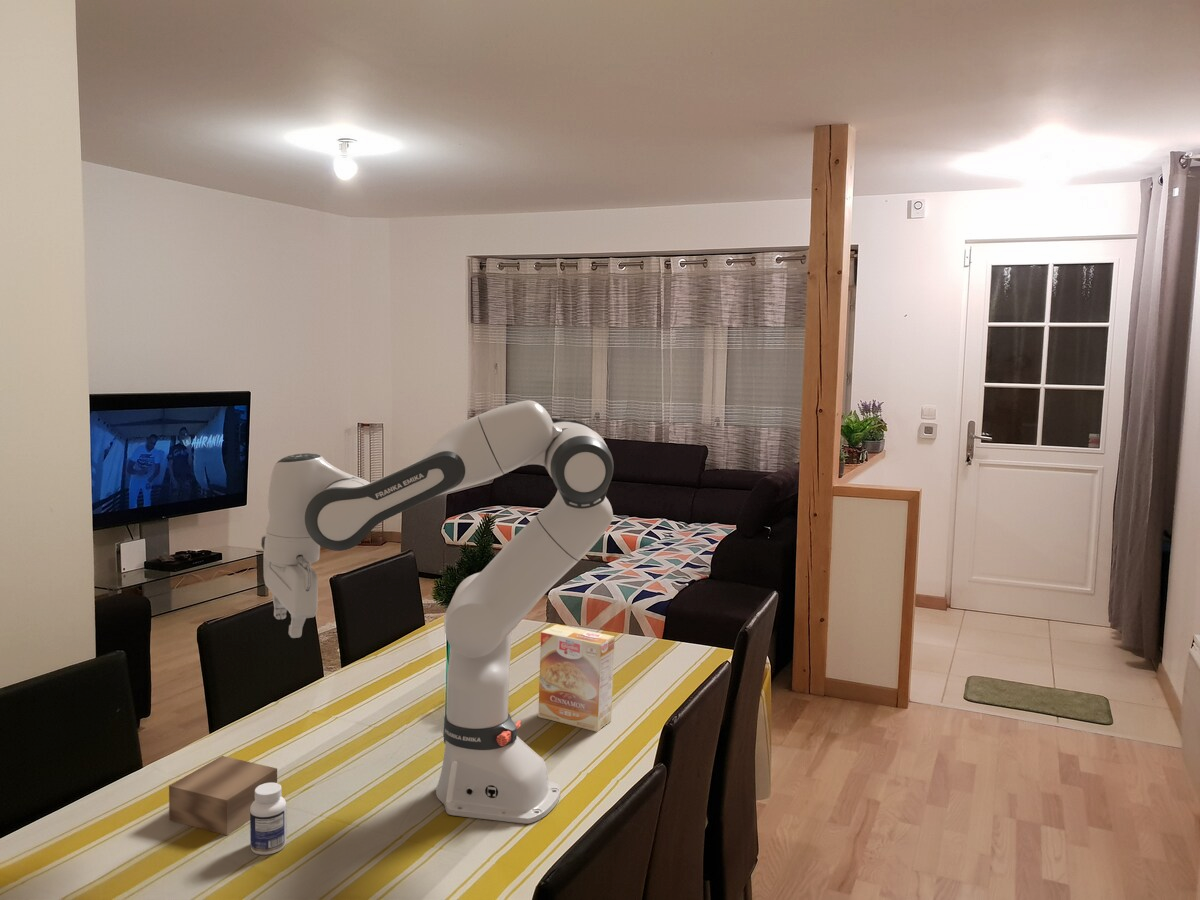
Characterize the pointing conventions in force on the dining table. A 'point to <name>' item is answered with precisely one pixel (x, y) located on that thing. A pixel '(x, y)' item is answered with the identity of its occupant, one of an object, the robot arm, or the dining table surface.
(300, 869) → the dining table surface
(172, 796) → the walnut riser
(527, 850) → the dining table surface
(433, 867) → the dining table surface
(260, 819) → the pill bottle
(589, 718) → the coffeecake box
